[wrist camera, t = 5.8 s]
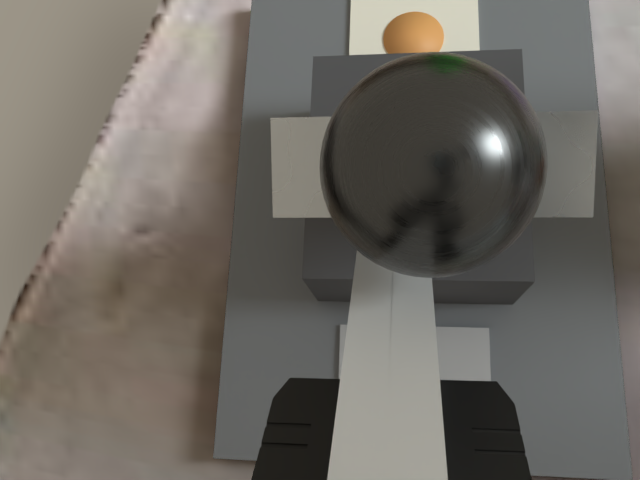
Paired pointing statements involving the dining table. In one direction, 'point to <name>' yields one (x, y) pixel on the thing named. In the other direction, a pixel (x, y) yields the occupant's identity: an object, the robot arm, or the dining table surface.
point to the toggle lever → (434, 165)
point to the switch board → (525, 338)
